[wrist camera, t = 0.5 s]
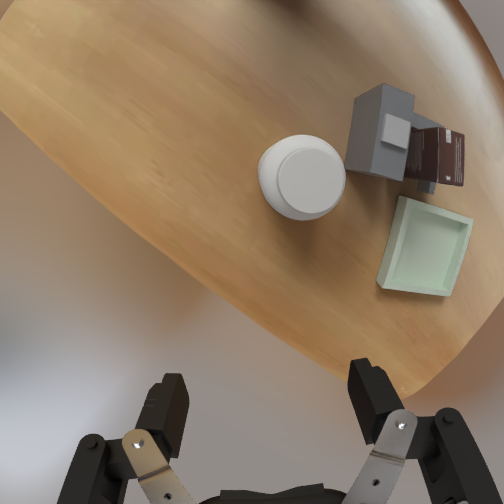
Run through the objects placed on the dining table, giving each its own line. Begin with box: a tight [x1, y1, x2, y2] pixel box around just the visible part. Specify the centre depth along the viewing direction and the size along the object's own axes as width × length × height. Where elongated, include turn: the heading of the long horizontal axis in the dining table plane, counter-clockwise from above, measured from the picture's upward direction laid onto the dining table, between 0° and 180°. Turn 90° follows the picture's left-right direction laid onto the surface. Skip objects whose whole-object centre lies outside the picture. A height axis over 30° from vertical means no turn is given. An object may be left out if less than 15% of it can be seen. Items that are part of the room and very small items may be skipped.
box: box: [403, 126, 464, 186], centre depth 29 cm, size 6×4×12 cm
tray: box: [376, 195, 474, 297], centre depth 37 cm, size 13×14×3 cm
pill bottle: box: [258, 135, 346, 220], centre depth 28 cm, size 8×8×15 cm
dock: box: [344, 83, 444, 195], centre depth 30 cm, size 10×13×10 cm
